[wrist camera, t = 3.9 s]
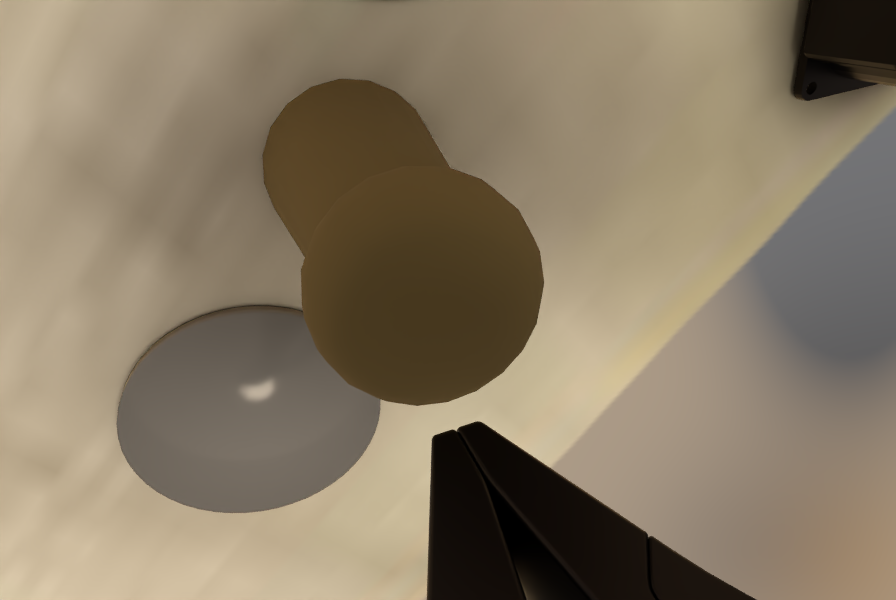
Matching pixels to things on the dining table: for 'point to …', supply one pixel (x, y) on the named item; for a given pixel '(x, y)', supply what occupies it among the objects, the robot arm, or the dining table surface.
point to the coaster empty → (241, 413)
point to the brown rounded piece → (399, 248)
